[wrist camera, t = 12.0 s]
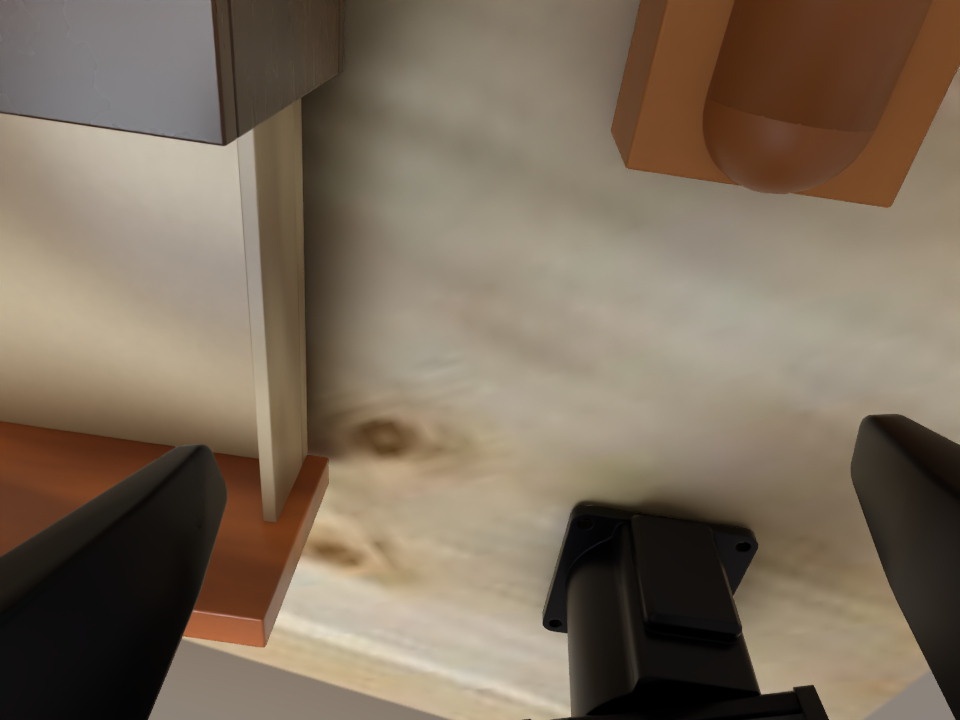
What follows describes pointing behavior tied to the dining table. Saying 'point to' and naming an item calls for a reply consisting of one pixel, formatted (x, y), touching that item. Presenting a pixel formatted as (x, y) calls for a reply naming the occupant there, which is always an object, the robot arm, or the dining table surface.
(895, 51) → the loaf
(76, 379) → the drawer
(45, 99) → the cabinet
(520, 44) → the dining table surface
